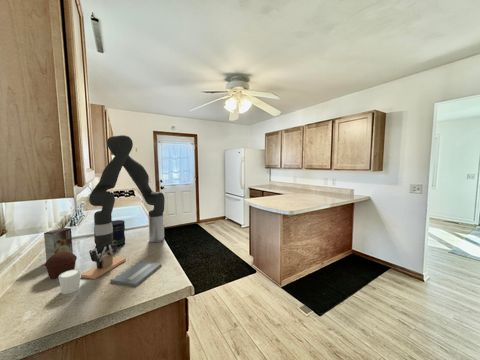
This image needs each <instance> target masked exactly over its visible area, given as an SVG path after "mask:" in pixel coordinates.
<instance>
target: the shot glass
mask: <svg viewBox="0 0 480 360" xmlns="http://www.w3.org/2000/svg"><path fill="white" fill-rule="evenodd" d="M58 282H59V287H60V291H61V294H62V295H68V294H71V293H75V292H76V291H78V290H79V289H80V284H81V283H80V282H81V270H80V269H76V268H75V269H73V270H69V271H66V272H64V273H62V274H60V275H59V279H58Z"/></svg>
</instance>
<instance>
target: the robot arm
mask: <svg viewBox="0 0 480 360" xmlns="http://www.w3.org/2000/svg"><path fill="white" fill-rule="evenodd" d="M106 145H107V147H108V149H109V152H111V153H112V155H113V158H112V159H111V160H110V161H109V162H108V164H106V166H105V168H104V169H103V171H102V173H101V175H100V178H99V181H98V183H97V184H96V185H95V186H94V188H93V189H92V191H91V192H90V194H89V197H88V202H89V204H90V205H91V206H93V207H101V210H98V211H96V212H95V213H94V215H93V221H94V222H93V223H94V228H93V237H94V244H95V245H94V246H95V247H94V248H93V249H92V250H89V252H88V253H89V256H90V260H91V262H94V263H96V266H97V268H98V269H101V268H102V257H103V256H104V255H105V254H106V255H112V258H113V257H114V254H115V253H117V242H118V241H112V240H113V226H112V221H113V220H112V219H113V217H112V213H113V210H114V205H115V202H116V198H115V195H114V194H113V192H111V191H109V190H112V189H114V188H116V185H117V182H118V179H119V175H120V173H121V170H122V168H124V169H125V171H126V173H128V175H129V177H130V178H131V180H132V181H133V183H134V185H136V187H137V189H138V190H139V192H140V193H141V196H142V198H143V199H144V201H145V202H146V204H147V205H149V206H153V209H152V210H150V211H149V212H148V241H149V242H150V243H159V242H162V241H163V240H164V239H165V224H164V211H165V201H166V200H165V195H164V193H163V192H161V191H154V190H152V188H151V187H150V184H149V183H150V182H149V180H150V179H149V178H150V175H149V174H148V173H147V170H146V168H145V167H144V166H143V165H142V164H141V163H139V161H137V160H135V159H133V157H131V156H130V153H131V151H132V149H133V146H134V144H133V140H132V138H131V137H130V136H129V135H127V134H126V135H124V134H122V135H113V136H110V137H108V138H107V140H106ZM163 238H164V239H163Z"/></svg>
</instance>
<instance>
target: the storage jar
mask: <svg viewBox="0 0 480 360" xmlns="http://www.w3.org/2000/svg"><path fill="white" fill-rule="evenodd" d="M125 222H126V221H125V220H124V219H121V220H120V219H117V220H112V226H113V240H112V241H118V242H117V248H122V247H123V246H125V245H126V235H125V230H126V228H125V227H126V225H125V224H126V223H125Z"/></svg>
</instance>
